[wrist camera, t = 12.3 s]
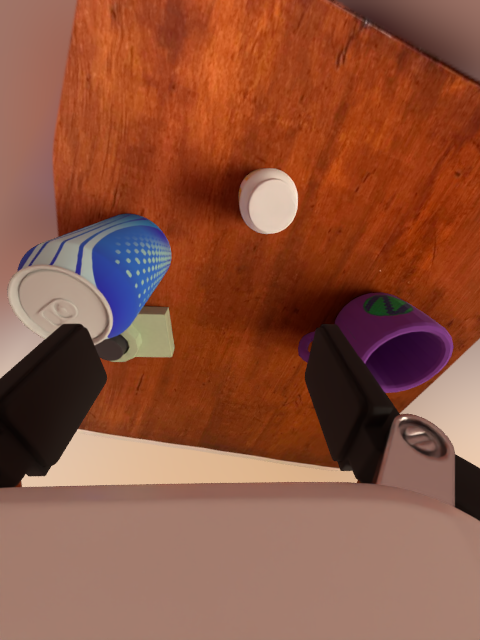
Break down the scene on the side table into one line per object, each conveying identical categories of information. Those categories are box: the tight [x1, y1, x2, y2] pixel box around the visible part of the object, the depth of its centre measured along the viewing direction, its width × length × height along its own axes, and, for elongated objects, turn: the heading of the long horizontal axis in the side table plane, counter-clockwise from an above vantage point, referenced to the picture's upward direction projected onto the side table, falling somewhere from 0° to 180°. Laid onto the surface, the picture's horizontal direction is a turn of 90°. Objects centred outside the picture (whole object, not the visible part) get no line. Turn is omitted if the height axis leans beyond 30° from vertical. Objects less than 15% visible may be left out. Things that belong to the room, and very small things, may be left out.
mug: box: [298, 293, 453, 393], centre depth 32 cm, size 17×11×10 cm, turn 101°
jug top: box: [112, 307, 174, 362], centre depth 34 cm, size 11×8×4 cm
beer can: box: [7, 214, 171, 345], centre depth 23 cm, size 8×8×16 cm
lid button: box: [95, 334, 128, 361], centre depth 32 cm, size 4×4×2 cm
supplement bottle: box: [239, 168, 298, 234], centre depth 22 cm, size 5×5×10 cm
